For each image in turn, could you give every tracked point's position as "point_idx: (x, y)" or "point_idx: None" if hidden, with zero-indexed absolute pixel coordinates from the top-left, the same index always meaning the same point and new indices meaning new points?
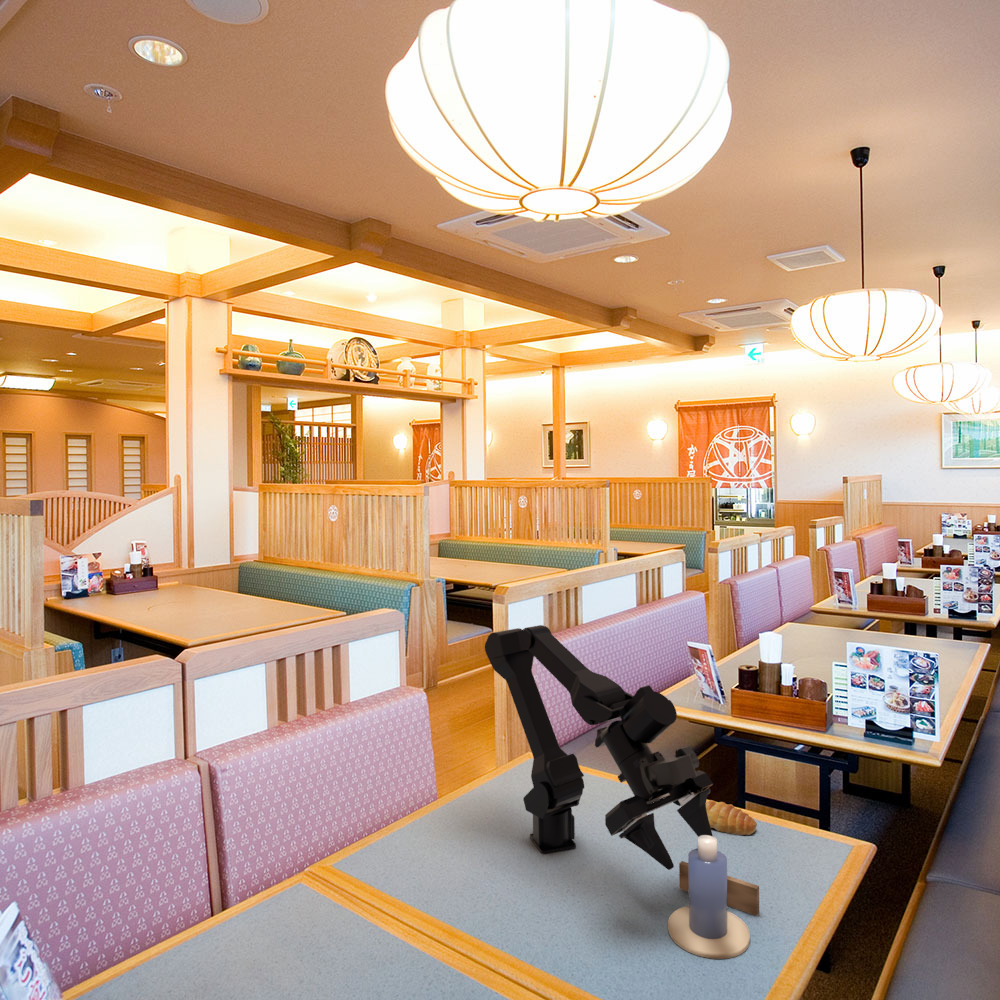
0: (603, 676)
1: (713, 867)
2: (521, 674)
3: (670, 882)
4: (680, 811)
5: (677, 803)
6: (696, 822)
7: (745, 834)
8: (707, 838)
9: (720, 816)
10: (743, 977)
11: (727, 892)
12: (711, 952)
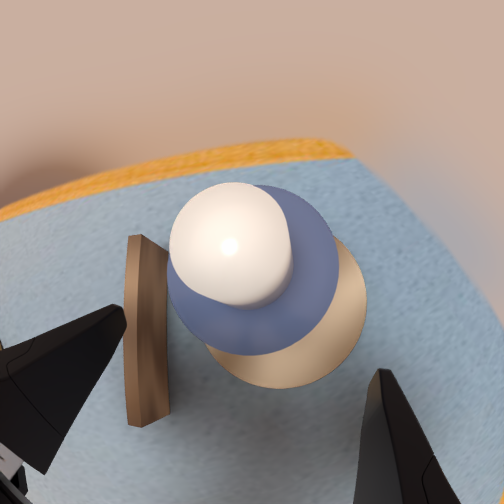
0: None
1: (311, 208)
2: None
3: (160, 435)
4: (42, 462)
5: (21, 476)
6: (59, 389)
7: (1, 348)
8: (212, 242)
9: None
10: (357, 196)
11: (153, 307)
12: (353, 257)
